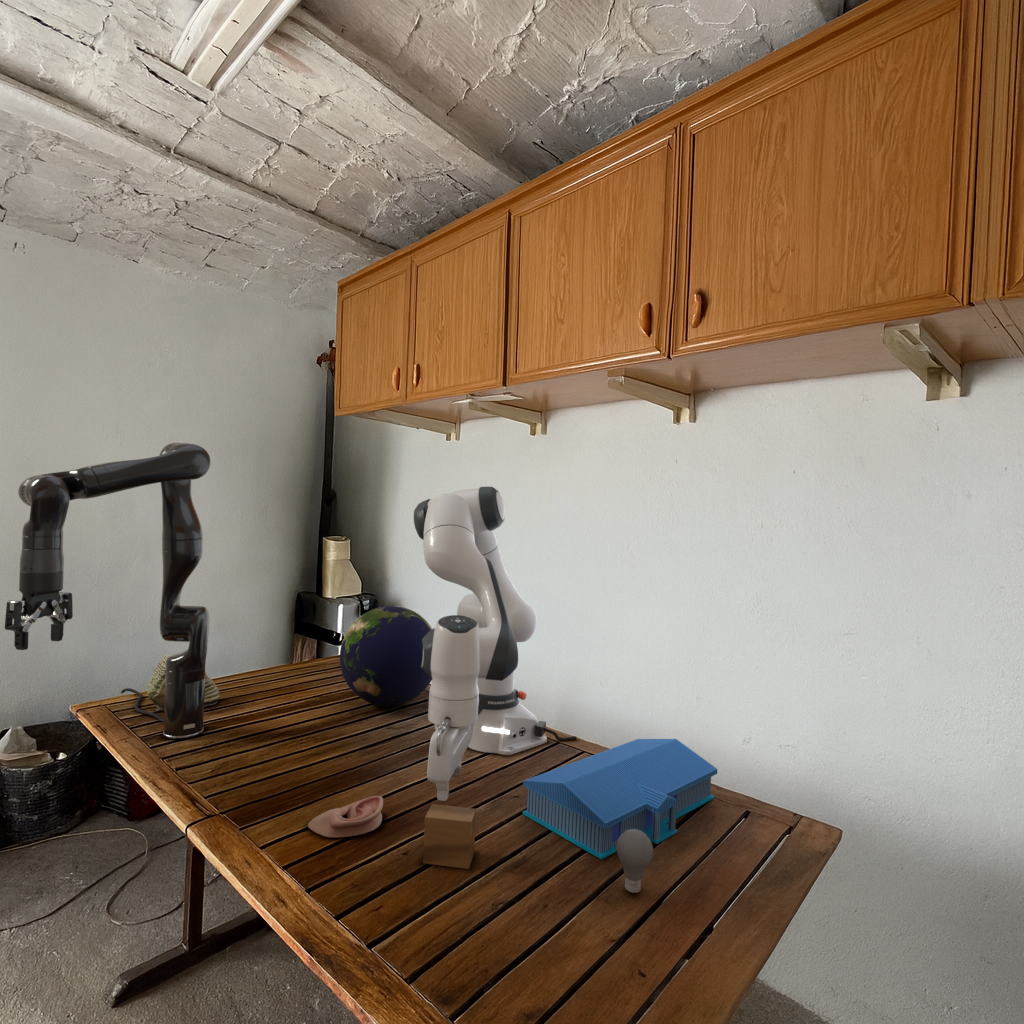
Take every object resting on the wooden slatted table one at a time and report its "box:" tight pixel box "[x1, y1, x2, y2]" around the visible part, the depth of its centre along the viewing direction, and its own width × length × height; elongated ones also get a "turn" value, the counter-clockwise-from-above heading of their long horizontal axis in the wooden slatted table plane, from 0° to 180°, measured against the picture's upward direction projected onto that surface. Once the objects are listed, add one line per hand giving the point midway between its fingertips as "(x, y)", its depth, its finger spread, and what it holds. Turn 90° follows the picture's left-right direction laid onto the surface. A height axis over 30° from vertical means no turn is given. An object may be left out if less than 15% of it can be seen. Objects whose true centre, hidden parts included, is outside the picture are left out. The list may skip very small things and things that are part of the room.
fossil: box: [147, 654, 221, 712], centre depth 185 cm, size 9×18×15 cm, turn 132°
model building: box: [522, 738, 718, 860], centre depth 134 cm, size 39×24×10 cm, turn 132°
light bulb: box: [616, 829, 654, 894], centre depth 106 cm, size 6×6×10 cm
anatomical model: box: [307, 795, 384, 839], centre depth 123 cm, size 13×4×12 cm
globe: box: [339, 605, 433, 707], centre depth 194 cm, size 30×30×30 cm
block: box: [422, 803, 477, 870], centre depth 113 cm, size 5×8×8 cm, turn 83°
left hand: (39, 645), depth 135 cm, fingers open, 8 cm apart
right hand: (449, 786), depth 113 cm, fingers open, 8 cm apart
